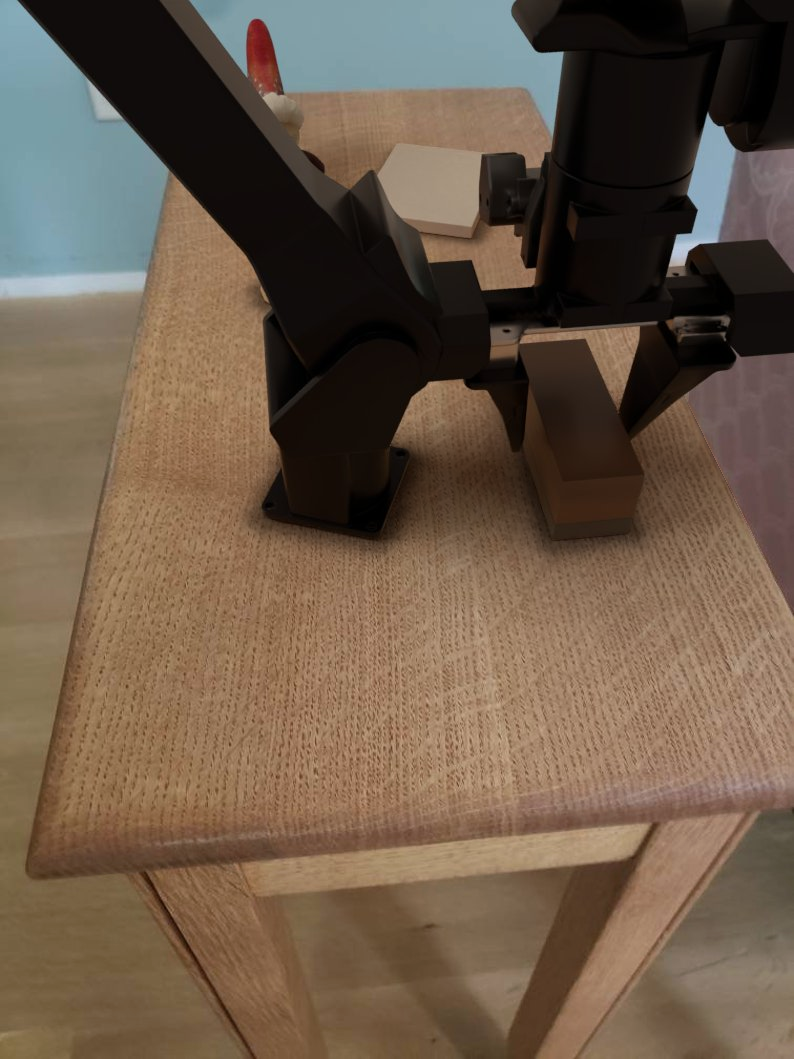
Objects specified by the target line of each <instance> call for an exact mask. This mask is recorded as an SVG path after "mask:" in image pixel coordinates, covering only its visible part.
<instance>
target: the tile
mask: <svg viewBox="0 0 794 1059" xmlns="http://www.w3.org/2000/svg"><path fill="white" fill-rule="evenodd" d="M490 153H491V152H485V151H484V152H482V151H473V150H466V149H458V148H457V149H456V148H447V147H438V146H429V145H422V144H421V145H420V144H411V143H405V142H404V143H403V142H397V143H396V144H395V145H394V147H393V149H392V150H391V152H390V154H389V155H388V157H387V158H386V160H385V162H384V163H383V165H382V166H381V168H380V170H379V171H378V173H377V174H376V175H377V177H378V178H379V180H380V183H381V185H382V187H383V189H384V191H385V194H386V196H387V198H388V200H389V202H390V204H391V206H392V208H393V209H394V211H395V212H396V213H397V214H398V215H399V216H400V217H401V218H402V220H403V221H404V222H406V223H408V224H409V225H411V226H413V227H414V228H416V229H417V230H419V233H425V234H433V235H440V236H441V235H442V236H449V237H457V238H463V239H472V237H473V235H474V233H475V230H476V228H477V226H478V223H479V221H480V220H481V219H480V214H479V177H480V167H481V156H482V154H490Z"/></svg>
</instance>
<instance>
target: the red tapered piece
mask: <svg viewBox="0 0 794 1059" xmlns="http://www.w3.org/2000/svg"><path fill="white" fill-rule="evenodd" d="M245 51H246V52H245V53H246V55H245V57H246V75H247V76H246V77H247V78H248V79H249V81H250V82H251V83H252V85H253V86H254V87H255V89H256V90H257V91H258V93H259V94H260V95H261V97H264V96H266V95H267V94H269V93H271V92H274V93H276V94H277V95H278V96H279V95H285V90H284V85H283V81H282V77H281V73H280V69H279V65H278V60H277V54H276V51H275V46H274V42H273V39H272V36H271V34H270V31H269V28H268V26H267V24H266V23H265V22H264V21H263V20H262V19H260V18H253V19H251V21H250V22H249V24H248V26H247V30H246V40H245Z"/></svg>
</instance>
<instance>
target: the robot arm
mask: <svg viewBox="0 0 794 1059" xmlns="http://www.w3.org/2000/svg"><path fill="white" fill-rule="evenodd" d="M16 1H17V2H18V3H19V4H20V5H21V6H22V7H23V9H24V10H25V11H26V12H27V13H28V15H29V16H30V17H31V18H32V19H33V20H34V21H35V22H36V23H37V25H39V26H40V28H41V29H42V30H43V32H45V34H47V35H48V36H49V38H50V39H51V40H52V41H53V42H54V43H55V45H57V47H58V48H59V49H60V51H62V53H63V54H65V55H66V57H67V58H68V59H69V60H70V61H71V62H72V63H73V65H74V66H75V67H76V68H77V69H78V70H79V71H80V72H81V74H82V75H83V76H84V77H85V79H87V80H88V81H89V82H90V83H91V85H92V86H93V87H94V88H95V89H96V90H97V91H98V93H100V95H101V96H102V97H103V98H104V99H105V100H106V102H107V103H109V105H110V106H111V107H112V108H113V109H114V110H115V111H116V113H117V114H118V115H119V116H120V117H121V118H122V119H123V121H124V122H125V123H126V124H127V125H128V126H129V127H130V128H131V129H132V130H133V131H134V133H136V135H137V136H138V137H139V138H140V139H141V141H143V143H144V144H145V145H146V146H147V148H149V149H150V150H151V151H152V152H153V154H154V155H155V156H156V157H157V158H158V159H159V160H160V161H161V163H162V164H163V165H164V166H165V167H166V168H167V170H168V171H170V173H171V174H172V175H173V176H174V177H175V178H176V179H177V181H178V182H179V183H180V184H181V185H182V186H183V187H184V189H185V190H186V191H187V192H188V193H190V195H191V196H192V197H193V198H194V200H196V202H197V203H198V204H199V205H200V206H201V207H202V208H203V210H204V211H205V212H206V213H207V214H208V215H209V216H210V217H211V218H212V219H213V221H214V222H215V223H216V224H217V225H218V226H219V227H220V229H221V230H222V231H223V232H224V233H225V234H226V235H227V236H228V237H229V239H230V240H231V241H232V242H233V243H234V244H235V245H236V246H237V247H238V249H239V250H240V251H241V252H242V253H243V254H244V256H245V257H246V259H247V260H248V262H249V264H250V265H251V268H252V269H253V271H254V273H255V274H256V277H257V279H258V281H259V283H260V287H261V286H262V288H263V290H264V292H265V294H266V296H267V299H268V301H269V303H270V304H269V303H268V304H269V305H270V307H271V309H270V310H269V311H268V312H267V313H266V314H265V315H264V316H263V318H262V329H263V330H262V334H263V349H264V350H263V351H264V365H265V379H266V397H267V412H268V429H269V433H270V435H271V436H272V438H273V440H274V441H275V442H276V444H277V447H278V453H279V459H280V466H281V467H280V469H279V470H278V472H277V474H276V476H275V478H274V480H273V482H272V484H271V486H270V487H269V490H268V492H267V493H266V495H265V497H264V499H263V501H262V503H261V505H260V507H261V513H262V515H263V516H264V517H266V518H267V519H273V520H277V521H283V522H288V523H293V524H296V525H302V526H307V527H312V528H316V529H321V530H327V531H330V532H331V531H332V532H336V533H341V534H346V535H351V536H356V537H359V538H360V537H361V538H366V539H372V540H373V539H377V538H379V537H381V535H382V534H383V531H384V529H385V526H386V524H387V521H388V518H389V516H390V513H391V511H392V508H393V506H394V503H395V501H396V497H397V495H398V493H399V490H400V487H401V485H402V482H403V480H404V476H405V475H406V471H407V469H408V467H409V464H410V461H411V453H410V451H409V450H408V449H406V448H404V447H400V446H393V445H392V442H393V440H394V438H395V435H396V433H397V431H398V430H399V427H400V424H401V422H402V420H403V417H404V415H405V413H406V411H407V409H408V407H409V405H410V402H411V400H412V398H413V397H414V396H415V395H416V394H418V393H419V392H420V391H422V390H423V389H424V388H426V387H427V386H428V384H429V383H433V382H434V383H435V382H447V381H458V380H462V383H463V385H464V386H465V388H467V389H468V390H471V391H486V392H487V393H488V395H489V396H490V398H491V400H492V402H493V403H494V405H495V407H496V409H497V410H498V412H499V414H500V416H501V418H502V423H503V426H504V430H505V433H506V436H507V437H506V438H507V440H508V444H509V447H510V449H511V453H512V454H517V453H520V452H521V449H522V447H523V445H522V444H523V441H524V435H525V424H526V413H527V402H528V391H529V377H528V374H527V371H526V368H525V365H524V362H523V359H522V356H521V353H520V350H519V345H520V343H521V341H522V339H523V337H524V336H531V335H546V334H556V333H557V334H558V333H559V334H560V333H571V332H584V331H585V332H586V331H596V330H612V329H622V328H623V329H625V328H637V327H639V336H638V342H637V347H636V349H635V353H634V357H633V360H632V363H631V367H630V370H629V374H628V377H627V381H626V382H625V387H624V390H623V394H622V397H621V400H620V405H619V408H618V414H619V416H620V418H621V421H622V423H623V425H624V427H625V430H626V432H627V434H628V437H629V439H630V441H631V442H632V440H634V439H635V438H636V437H637V436H639V434H640V433H642V431H644V430H645V429H646V428H647V427H648V426H650V424H652V422H654V421H655V420H656V419H657V418H658V417H660V416H661V415H662V414H663V413H664V412H665V411H666V410H668V409H669V408H670V407H671V406H672V405H674V404H675V403H676V402H677V401H679V400H680V399H681V398H683V397H684V396H685V395H687V394H688V393H689V392H691V391H692V390H693V389H695V388H696V387H698V386H699V385H700V384H701V383H703V382H704V381H706V380H707V379H709V378H710V377H711V376H712V375H714V374H716V373H718V372H725V371H729V370H732V368H733V367H734V366H735V364H736V362H737V358H738V357H737V355H738V356H739V357H740V358H747V357H749V358H750V357H759V356H760V357H761V356H773V355H774V356H775V355H786V354H787V355H788V354H794V271H793V270H792V269H791V267H790V266H789V265H788V264H787V262H786V261H785V259H783V257H782V256H781V254H780V253H779V252H778V251H777V249H776V248H775V247H774V245H773V244H772V243H771V242H770V240H769V239H768V238H763V239H762V238H761V239H748V240H734V241H721V242H707V243H705V242H704V243H698V244H697V245H696V246H694V247H692V248H691V249H689V250H687V255H686V258H685V262H684V265H673V266H670V263H671V259H672V255H673V251H674V248H675V243H676V239H677V236H679V235H691V234H693V230H694V226H695V223H696V219H697V215H698V211H699V209H698V208H697V207H696V205H695V203H694V202H693V201H692V199H691V197H690V196H689V195H688V193H689V190H690V189H689V188H690V185H691V182H692V176H693V174H694V169H695V165H696V160H697V156H698V153H699V149H700V145H701V140H702V136H703V133H704V129H705V125H706V122H707V121H706V120H707V116H709V118H710V120H711V122H712V123H713V124H714V125H716V126H717V127H721V128H723V131H724V133H725V136H726V138H727V139H728V141H729V143H730V144H731V146H732V147H733V148H734V149H735V150H737V151H739V152H741V153H755V152H769V151H771V152H772V151H780V150H781V151H783V150H794V0H514V2H513V3H512V5H511V9H510V13H511V17H512V19H513V20H514V22H515V23H516V24H517V27H518V28H519V29H520V31H521V32H522V33H523V35H524V36H525V38H526V40H527V41H528V43H529V44H530V46H531V47H532V48H533V50H534V51H535V52H537V53H538V54H550V53H562V61H561V69H560V78H559V85H558V93H557V101H556V109H555V116H554V123H553V124H554V125H553V133H552V139H551V140H552V141H551V148H550V151H544V154H543V160H542V162H541V165H540V167H527V162H526V157H525V156H524V154H522V153H518V152H516V151H509V152H506V151H505V152H489V153H490V154H482V156H481V167H480V177H479V214H480V219H479V220H481V221H482V222H483V223H484V224H485V225H487V226H488V227H491V228H492V227H505V226H513V235H514V237H516V238H521V246H520V259H521V261H522V263H523V266H524V269H526V270H531V269H535V274H534V282H533V284H532V285H531V286H523V287H508V288H495V289H482V288H481V284H480V280H479V277H478V275H477V272H476V269H475V266H474V262H473V259H461V260H447V261H435V262H434V261H432V262H431V261H430V262H429V260H428V257H427V256H428V255H427V253H426V249H425V246H424V242H423V240H422V237H421V232H419V230H417V229H416V228H414V227H413V226H411V225H409V224H408V223H406V222H404V221H403V220H402V218H401V217H400V216H399V215H398V214H397V213H396V212H395V211H394V209H393V208H392V206H391V204H390V202H389V200H388V198H387V196H386V194H385V191H384V189H383V187H382V185H381V183H380V180H379V178H378V177H377V175H378V174H377V173H376V171H375V170H374V169H369V170H368V171H366V173H365V174H364V175H363V176H362V177H361V178H360V179H358V180H357V182H356V183H354V185H353V186H352V187H350V189H349V188H348V187H347V186H345V185H343V184H341V183H339V182H338V181H336V180H335V179H333V178H331V177H330V176H329V175H328V174H327V175H325V174H323V173H322V172H321V171H319V170H318V169H317V168H316V167H315V166H314V165H313V164H312V163H311V162H310V161H309V160H308V158H307V157H306V156H305V154H304V153H303V152H302V150H303V149H302V148H301V147H300V146H299V144H298V145H297V144H296V142H295V141H294V140H293V138H292V137H291V136H290V134H289V133H288V132H287V130H286V129H285V128H284V126H283V125H282V124H281V122H280V121H279V120H278V118H277V117H276V115H275V114H274V113H273V111H272V110H271V109H270V107H269V106H268V105H267V103H266V102H265V101H264V99H263V98H262V97H261V95H260V94H259V93H258V91H257V90H256V89H255V87H254V86H253V85H252V83H251V82H250V81H249V79H248V78H247V76H246V75H247V74H245V73H244V71H243V70H242V69H241V67H240V66H239V65H238V64H237V62H236V61H235V59H234V58H233V57H232V55H231V54H230V53H229V51H228V50H227V49H226V47H225V46H224V44H222V42H221V40H220V39H219V38H218V37H217V36H216V34H215V33H214V31H213V30H212V28H211V27H210V26H209V25H208V23H207V22H206V21H205V19H204V18H203V17H202V15H201V14H200V12H199V11H198V9H196V6H194V5H193V4H192V2H191V0H16ZM301 149H302V150H301ZM371 528H372V529H371Z"/></svg>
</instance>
